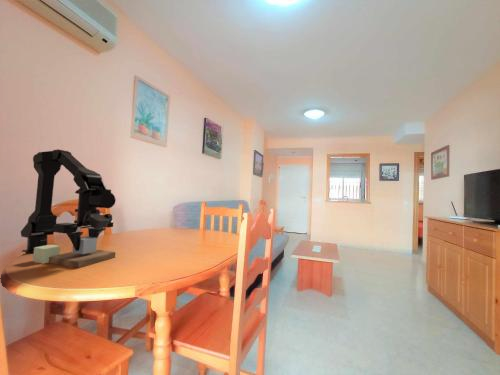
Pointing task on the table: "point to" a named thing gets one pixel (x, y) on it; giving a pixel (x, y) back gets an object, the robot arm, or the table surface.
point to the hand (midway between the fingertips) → (84, 248)
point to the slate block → (86, 245)
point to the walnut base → (81, 258)
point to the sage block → (45, 253)
